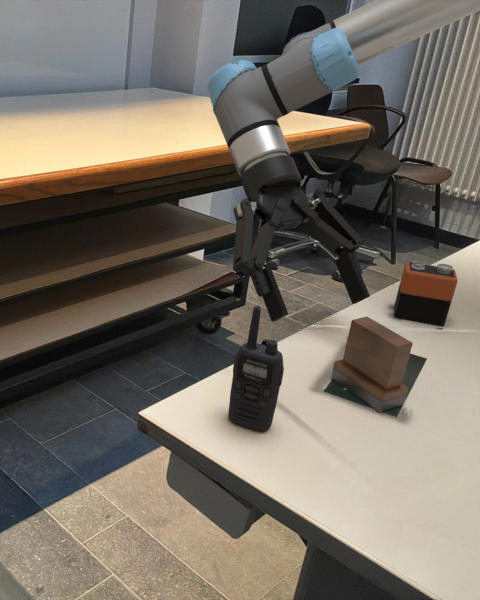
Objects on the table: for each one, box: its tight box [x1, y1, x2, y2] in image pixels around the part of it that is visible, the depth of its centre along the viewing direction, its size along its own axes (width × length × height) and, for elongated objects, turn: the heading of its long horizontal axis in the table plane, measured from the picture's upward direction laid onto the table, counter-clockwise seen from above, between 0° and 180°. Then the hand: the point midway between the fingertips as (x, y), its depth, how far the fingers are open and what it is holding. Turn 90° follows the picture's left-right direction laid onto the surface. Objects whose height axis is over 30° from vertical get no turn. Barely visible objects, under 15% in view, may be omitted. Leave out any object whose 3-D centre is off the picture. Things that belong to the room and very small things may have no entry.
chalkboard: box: [323, 353, 428, 418], centre depth 87 cm, size 18×10×1 cm, turn 144°
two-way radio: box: [227, 305, 285, 432], centre depth 76 cm, size 6×4×15 cm
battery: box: [393, 260, 459, 330], centre depth 99 cm, size 4×7×10 cm, turn 68°
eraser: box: [330, 316, 414, 413], centre depth 81 cm, size 8×4×8 cm, turn 24°
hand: (321, 309), depth 88 cm, fingers open, 13 cm apart
